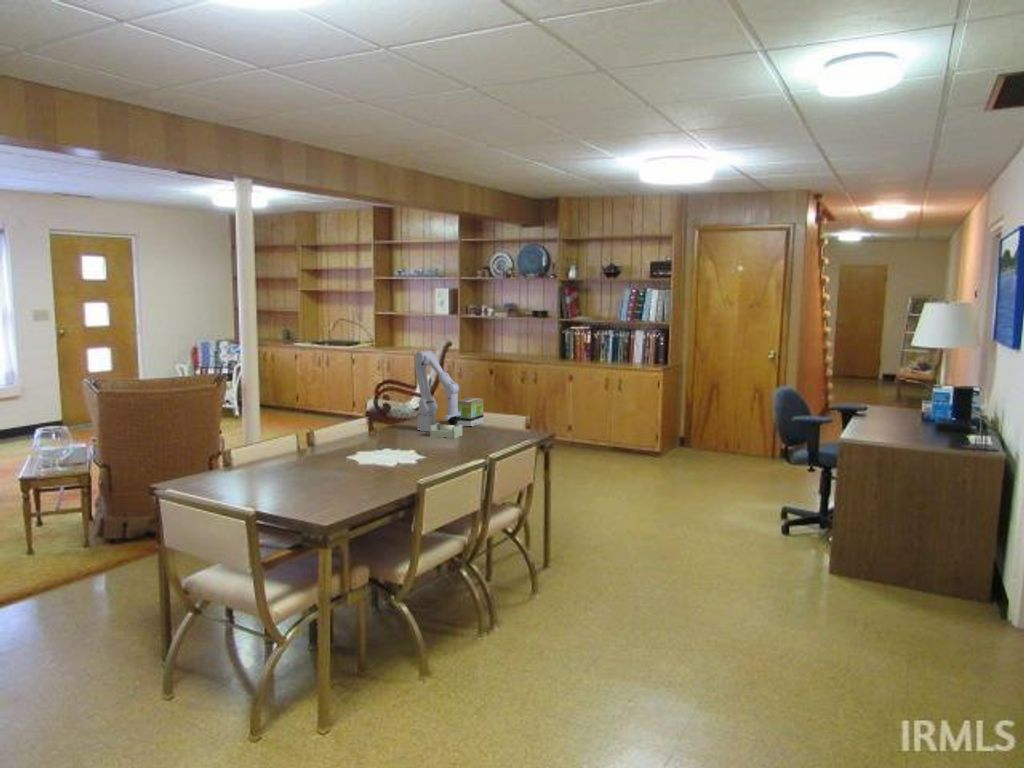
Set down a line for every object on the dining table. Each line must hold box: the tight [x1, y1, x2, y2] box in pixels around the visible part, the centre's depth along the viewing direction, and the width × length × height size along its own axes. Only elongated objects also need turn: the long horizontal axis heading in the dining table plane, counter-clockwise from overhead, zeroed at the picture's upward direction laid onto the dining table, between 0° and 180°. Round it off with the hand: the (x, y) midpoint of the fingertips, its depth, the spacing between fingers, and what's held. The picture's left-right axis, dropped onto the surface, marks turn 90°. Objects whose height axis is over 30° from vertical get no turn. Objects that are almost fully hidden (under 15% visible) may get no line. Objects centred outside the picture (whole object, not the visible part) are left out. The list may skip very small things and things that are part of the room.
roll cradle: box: [429, 422, 463, 439], centre depth 385 cm, size 15×9×7 cm, turn 66°
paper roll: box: [440, 423, 454, 432], centre depth 389 cm, size 10×5×5 cm
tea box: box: [456, 397, 485, 427], centre depth 416 cm, size 15×10×15 cm, turn 154°
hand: (453, 430), depth 392 cm, fingers closed
